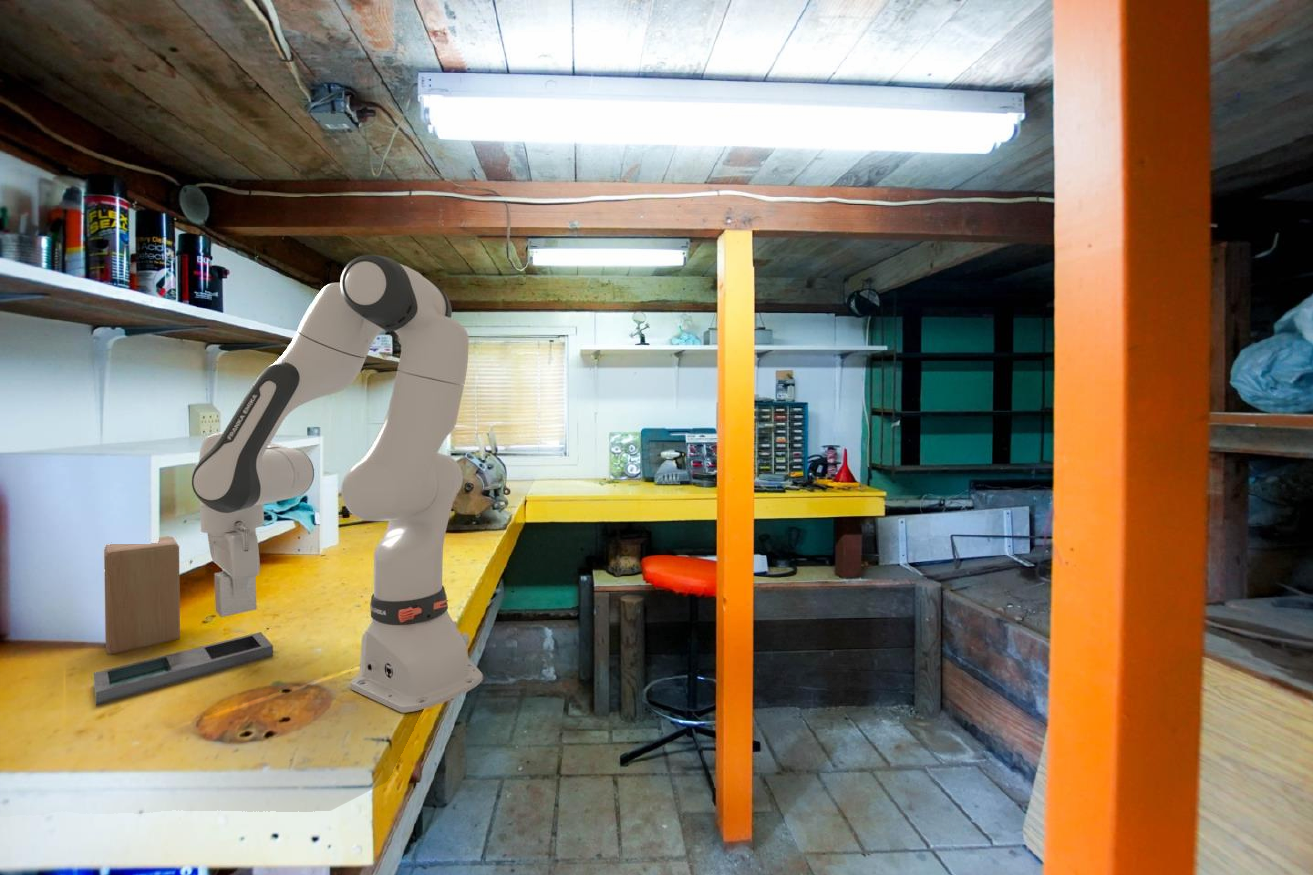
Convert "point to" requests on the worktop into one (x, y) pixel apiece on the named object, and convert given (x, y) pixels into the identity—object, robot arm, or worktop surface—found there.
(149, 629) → the wooden block
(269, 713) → the worktop surface
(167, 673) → the gray slotted tray
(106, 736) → the worktop surface
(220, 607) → the white upright block
